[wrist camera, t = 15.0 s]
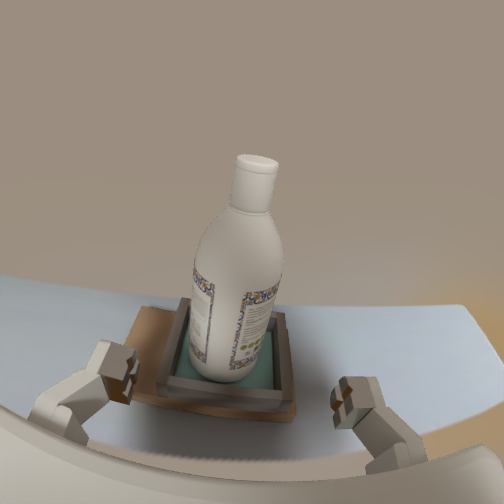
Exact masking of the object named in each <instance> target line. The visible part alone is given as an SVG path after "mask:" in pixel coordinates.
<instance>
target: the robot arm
mask: <svg viewBox="0 0 504 504" xmlns="http://www.w3.org/2000/svg"><path fill="white" fill-rule="evenodd" d="M137 357H138V350H137V349H135V348H131V347H128V346H124V345H121V344H117V343H114V342H110V341H107V340H103V339H101V340H100V341H99V342H98V344H97V346H96V348H95V350H94V352H93V354H92V356H91V358H90V360H89V362H88V364H87V366H86V368H85V370H84V369H80V370H79V371H77V372H75V373H74V374H72V375H71V376H69V377H67V378H66V379H64V380H62V381H61V382H59V383H57V384H56V385H54V386H52V387H51V388H49V389H47V390H46V391H44V392H42V393H41V394H39V396H38V398H37V400H36V402H35V404H34V406H33V409H32V411H31V413H30V415H29V417H28V419H27V420H26V419H25V418H23V417H21V416H19V415H17V414H16V413H14V412H12V411H10V410H9V409H7V408H5V407H4V406H2V405H0V504H504V470H503V467H502V464H501V461H500V460H499V458H498V457H497V456H496V455H495V454H494V453H493V452H492V451H491V450H490V449H489V448H488V447H486V446H485V445H483V444H477V445H474V446H472V447H469V448H466V449H464V450H461V451H458V452H456V453H453V454H450V455H447V456H444V457H441V458H438V459H434V460H431V461H428V459H427V455H426V452H425V448H424V445H423V442H422V439H421V437H420V436H419V435H418V434H417V433H416V432H415V431H413V430H412V429H411V428H410V427H409V426H408V425H407V424H406V423H405V422H404V421H403V420H402V419H401V418H400V417H399V416H398V415H397V414H396V413H395V412H394V411H392V410H391V409H390V408H389V407H386V405H385V402H384V398H383V395H382V392H381V389H380V386H379V383H378V380H377V378H376V377H346V376H344V377H342V378H341V379H340V380H339V385H338V386H336V387H335V388H334V389H333V391H332V392H331V397H330V405H331V408H332V409H333V410H334V411H335V413H334V415H333V422H334V428H335V429H352V430H353V432H354V433H355V434H356V436H357V437H358V438H359V439H360V441H361V442H362V443H363V445H364V446H365V447H366V448H367V450H368V451H369V452H370V454H371V455H372V456H373V457H374V460H372V461H371V462H370V463H368V464H367V465H366V467H365V469H366V475H363V476H356V477H349V478H341V479H330V480H318V481H298V482H263V481H243V480H230V479H221V478H212V477H204V476H197V475H191V474H185V473H179V472H174V471H169V470H164V469H160V468H155V467H151V466H147V465H143V464H139V463H135V462H132V461H128V460H125V459H121V458H118V457H115V456H112V455H109V454H106V453H103V452H100V451H97V450H94V449H91V448H89V447H86V446H87V442H88V439H89V437H88V435H87V433H86V432H85V431H84V429H83V428H82V426H81V425H82V424H83V423H84V422H85V421H87V420H88V419H89V418H90V417H91V416H93V415H94V414H95V413H96V412H97V411H99V410H100V409H101V408H102V407H103V406H105V405H106V404H107V403H108V402H109V401H110V400H112V401H115V402H119V403H123V404H127V405H130V402H131V399H132V396H133V393H134V391H133V385H134V384H136V383H137V380H138V377H139V371H140V364H139V361H138V360H137Z"/></svg>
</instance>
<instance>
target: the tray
mask: <svg viewBox="0 0 504 504" xmlns="http://www.w3.org/2000/svg"><path fill="white" fill-rule="evenodd" d="M190 315H191V299H188V298H181V301H180V304H179V307H178V310H177V313H176V312H171V311H166V310H161V309H156V308H151V307H146V306H142V307H141V309H140V311H139V313H138V315H137V317H136V319H135V322H134V324H133V326H132V328H131V331H130V333H129V335H128V337H127V340H126V342H125V344H124V346H128V347H131V348H135V349H137V350H138V357H137V360H138V361H139V364H140V371H139V377H138V380H137V383H136V384H134V385H133V391H134V393H133V396H132V399H131V400H135V401H139V402H143V403H147V404H151V405H156V406H160V407H165V408H170V409H175V410H180V411H185V412H191V413H197V414H203V415H210V416H217V417H225V418H233V419H242V420H253V421H267V422H285V423H291V421H292V420H293V418H294V416H295V415H296V406H295V395H294V385H293V375H292V365H291V356H290V347H289V337H288V329H286V321H285V313H280V312H273V311H271V315H270V318H269V322H268V325H267V328H266V332H265V335H264V338H263V342H262V345H261V348H260V352H259V354H258V358H257V361H256V364H255V366H254V368H253V370H252V371H251V373H250V374H249V375H247V376H246V377H245V378H243V379H241V380H238V381H235V382H227V383H224V382H216V381H213V380H210V379H207V378H205V377H204V376H202V375H201V374H200V373H198V372H197V371H196V370H195V368H194V367H193V365H192V364H191V361H190V358H189V333H190Z"/></svg>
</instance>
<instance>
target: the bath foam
mask: <svg viewBox="0 0 504 504" xmlns="http://www.w3.org/2000/svg"><path fill="white" fill-rule="evenodd" d="M278 169H279V164H278V162H276V161H274V160H272V159H269V158H266V157H261V156H256V155H239V156H238V157H237V159H236V164H235V170H234V176H233V182H232V188H231V195H230V203H229V205H228V206H227V207H226V208H225V209H224V210H223V211H222V212H221V213H220V214H219V215H218V216H217V217H216V218H215V219H214V221H213V222H212V223H211V224H210V226H209V227H208V228H207V229H206V231H205V233H204V234H203V236H202V238H201V240H200V243H199V246H198V248H197V252H196V256H195V261H194V273H193V286H192V299H191V315H190V333H189V358H190V361H191V364H192V365H193V367H194V368H195V370H196V371H197V372H198V373H200V374H201V375H202V376H204V377H205V378H207V379H210V380H213V381H216V382H224V383H227V382H235V381H238V380H241V379H243V378H245V377H246V376H247V375H249V374H250V373H251V371H252V370H253V368H254V366H255V364H256V361H257V358H258V354H259V352H260V348H261V345H262V342H263V338H264V335H265V332H266V328H267V325H268V322H269V318H270V315H271V311H272V308H273V304H274V301H275V297H276V294H277V290H278V287H279V283H280V279H281V276H282V269H283V250H282V245H281V240H280V237H279V234H278V232H277V229H276V227H275V224H274V222H273V220H272V217H271V215H270V212H269V208H270V205H271V201H272V196H273V192H274V187H275V182H276V178H277V173H278Z"/></svg>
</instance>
